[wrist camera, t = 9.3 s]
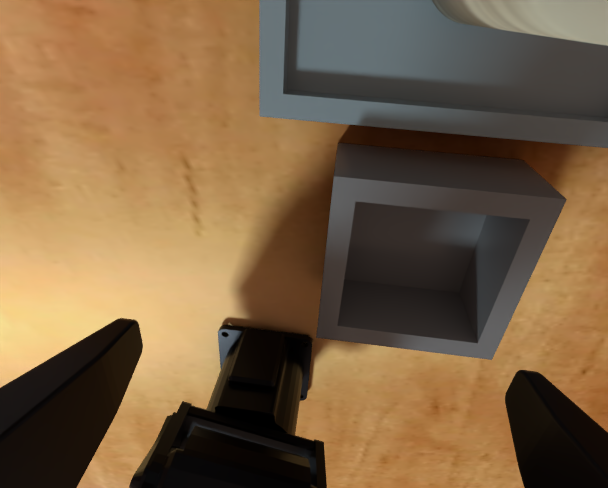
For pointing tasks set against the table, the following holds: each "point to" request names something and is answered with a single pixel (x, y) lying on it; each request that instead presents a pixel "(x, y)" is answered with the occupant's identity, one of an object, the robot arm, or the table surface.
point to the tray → (428, 73)
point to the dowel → (534, 17)
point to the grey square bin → (430, 248)
